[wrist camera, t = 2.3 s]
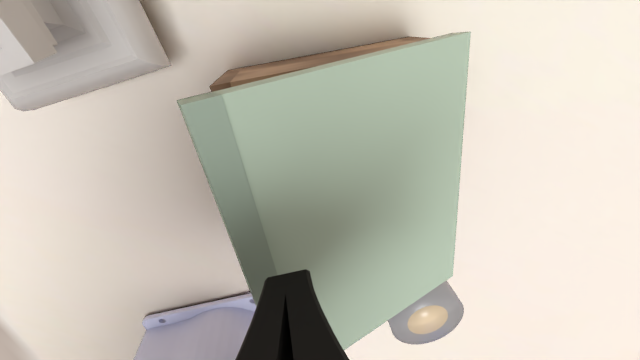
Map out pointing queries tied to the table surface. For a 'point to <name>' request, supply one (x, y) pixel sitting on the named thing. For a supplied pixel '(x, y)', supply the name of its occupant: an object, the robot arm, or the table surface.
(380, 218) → the lid
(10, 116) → the table surface
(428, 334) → the tan-topped grey cylinder
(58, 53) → the stamp
